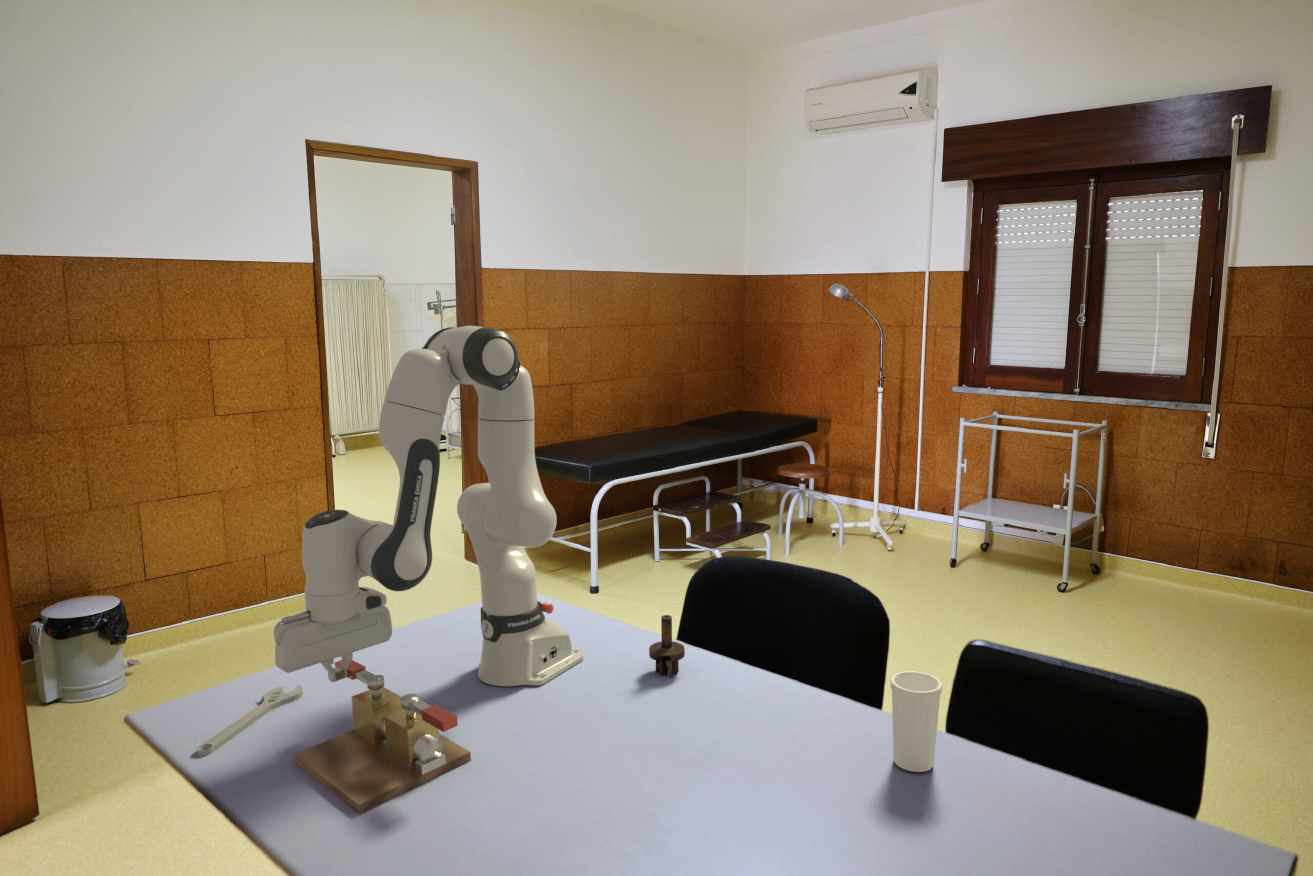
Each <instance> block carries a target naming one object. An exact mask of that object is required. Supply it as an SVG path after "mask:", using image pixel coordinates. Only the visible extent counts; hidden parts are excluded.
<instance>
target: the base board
mask: <svg viewBox="0 0 1313 876" xmlns="http://www.w3.org/2000/svg"><path fill="white" fill-rule="evenodd" d="M439 740H440V741H441V742H442V744H443V750H442V753H443V754H444V755H445V758H446V764H444V765H442V766H440V767H438V768H436V769H434V770H431V771H429V772H427V773H425V774H423V775H422V774H420V773H419V772H417V771H416V770H415V769H413V770H411V771H410V770H408V769H407V768H405V767H404V766H402V765H401V764H399V763H398V762H396V761H395V760H393V759H392V758H390V757H389V756H388V755H387V751H385V750H384V749H383V744H382V745H380V746H378V747H374V746H372V745H371V744H369V743H368V742H366V741H365V740H363V739H362V738H360V737H358V736H357V735H355V733H354V729H352V730H349V731H348V732H344V733H342V734H340V735H337V736H335V737H332V738H330V739H328V740H324V741H322V742H320V743H318V744H315V745H313V746H311V747H308V748H306V749H303V750H301V751H299V752H295V753H293V754H292V755H293V756H292V757H293V763H294V764H295V765H297V766H298V767H299V768H301V770H303V771H304V772H306V773H307V774H308V775H309V776H310V777H312V779H315V780H316V781H317V782H319V783H320V784H321V785H322V786H324V787H325V788H326V789H327V790H329V791H330V792H331V793H333V795H335V796H336V797H337V798H339V799H340V800H341V801H343V802H344V803H345V804H346V805H348V807H351V808H352V809H353V810H354V811H355V812H356V813H357V814H363V813H366V812H367V811H369V810H371V809H373V808H376V807H378V806H379V805H382V804H385V802H388V801H390V800H391V799H394V798H395V797H399V796H400V795H402V794H405V793H406V792H408V791H411V790H412V789H414V788H416V787H419V786H421V785H423V784H425V783H426V782H430V781H431V780H433V779H436V778H437V777H439V776H442V775H443V774H445V773H447V772H449V771H451V770H454V769H455V768H457V767H460V766H462V765H465V764H466V763H468V762H470V761H472V758H471V751H470V750H469V749H466V748H464V747H463V746H461V745H459V744H458V743H456V742H454V741H453V740H451V739H449V738H447V737H445V736H444V735H442V734H441V733H439Z"/></svg>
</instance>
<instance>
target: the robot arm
mask: <svg viewBox="0 0 1313 876" xmlns="http://www.w3.org/2000/svg"><path fill="white" fill-rule="evenodd" d="M458 385H464V386H465V385H466V386H473V387H474V389H475V392H476V395H477V399H478V403H477V404H478V407H477V457H478V460H479V462H480V464H481V465H482V467H483V468H484V470H485V472H486V475H487V479H488V481H489V482H482V483H481V482H479V483H474V484H472V485H469V486H467V488H465V489H464V490H463V491H462V493H461V494H460V496H459V498H458V501H457V503H456V511H457V512H456V513H457V515H458V516H457V517H458V518H459V520H460V523H462V525H463V526H464V528H465V530H466V531H467V533H468V536H469V539H470V542H471V545H472V549H473V552H474V555H475V558H476V561H477V566H478V570H479V577H480V590H481V592H480V593H481V604H482V605H481V608H480V630H481V634H482V649H481V656H480V662H479V667H478V671H477V677H478V678H479V680H480V681H481V682H483V683H484V684H485V683H486V684H488V685H492V686H498V687H517V686H542V685H545V684H546V683H548V682H550V681H551V680H552V679H554V678H556V677H557V676H559V675H562V673H564V672H565V671H567V670H568V669H570V668H572V667H574V666H575V665H577V664H578V663H580V662H582V661H583V660H584V655H583V652H581V650H580V649H578V648H576V647H575V646H573V645H572V640H571V637H570V634H569V632H568V631H567V630H566V629H565V628H564V627H562V626H561V625H559V624H557V623H556V622H554V621H552V620H550V619H548V618H547V617H545V615H544V612H545V613H546V614H549V615H550V614H552V613H553V612H554V609H555V607H554V605H553V604H552V603H549V602H543V603H542V602H541V601H539V600H538V594H537V574H536V573H537V571H536V568H535V565H534V562H533V561H532V559H531V558H530V557H529V554H528V553H527V551H526V548H527V549H529V548H531V549H533V548H538V547H542V546H544V545H546V543H547V542H549V541H550V540H551V539H552V537H553V535H554V533H555V530H556V527H557V521H558V519H557V517H558V516H557V513H556V510H555V508H554V507H553V505H552V503H550V501H549V499H548V498H547V495H546V494H545V492H544V489H543V486H542V482H541V479H540V475H539V471H538V468H537V467H538V466H537V462H536V453H535V451H536V449H535V400H534V391H533V384H532V380H531V374H530V373H529V371H528V369H527V368H526V367H524V366H522V365H521V362H520V359H519V354H518V349H517V345H516V344H515V342H514V340H513V339H512V337H511V336H510V335H508V334H507V333H506V332H504V331H503V330H500V329H498V328H495V327H490V326H486V327H485V326H477V325H464V326H463V325H462V326H459V327H454V326H453V327H451V326H449V327H446V328H443V329H439V330H437V331H435V332H434V333H433V334H432V335H431V336H430V337H429V338H428V339H427V340H426V342H425V344H424V345H423V346H422V348H413V349H410V350H408V351H406V352H405V353H403V354H402V355H401V356H400V359H399V361H398V363H397V364H396V366H395V369H394V370H393V373H392V375H391V377H390V381H389V384H388V387H387V388H386V389H387V390H386V392H385V395H384V398H383V399H384V400H383V403H382V407H381V412H380V415H379V421H378V437H379V439H380V442H381V443H382V446H383V447H384V449H385V450H386V451H387V453H388V454H389V455H390V456H391V458H392V459H393V461H394V463H395V465H396V467H397V470H398V474H399V489H398V494H397V500H396V505H395V511H394V518H393V519H394V520H393V523H392V524H389V523H387V522H384V521H381V520H380V521H379V520H372V519H366V518H363V517H360V516H358V515H355V514H353V513H350V512H349V511H348V510H345V509H334V510H326V511H322V512H320V513H318V514H315V515H313V516H312V517H310V518H309V519H308V520H307V521H306V523H305V525H304V526H303V530H302V538H301V539H302V540H301V541H302V542H301V555H302V556H301V557H302V569H303V571H304V574H305V584H304V600H305V601H304V603H305V611H302V612H299V613H295V614H294V615H287V616H285V617H283V618H281V620H280V621H278V622H277V623H276V625H275V626H274V628H273V635H274V636H273V638H274V641H275V646H274V648H275V649H274V663H275V666H276V667H277V668H278V669H280V670H281V671H283V672H285V673H287V674H288V673H292V672H296V671H299V670H302V669H305V668H309V667H311V666H314V665H317V664H321V666H322V667H323V668H324V669H325V670H326V671H327V678H328V681H329V682H331V683H335V682H338V681H341V680H344V679H347V678H348V674H347V668H348V667H349V665H350V663H351V661H352V660H353V657H354V656H353V654H354V652H359V651H362V650H364V649H367V648H371V647H374V646H377V645H380V644H383V643H387V642H388V641H389V640H390V639H391V637H392V635H393V625H392V624H393V623H392V618H391V617H392V616H391V611H390V610H389V608H388V607H387V606H386V605H387V601H388V600H387V595H386V594H385V593H383V592H382V591H381V592H380V591H378V590H376V589H374V588H370V587H365V586H360V584H359V582H360V580H361V578H364V577H365V578H366V577H370V578H371V579H373V580H376V582H378V583H379V584H380V585H382V586H383V587H385V588H386V589H387V590H390V591H392V592H404V591H408V590H411V589H413V588H416V586H418V585H419V584H420V583H421V582H423V581H424V579H425V578H426V577H427V575H428V573H429V571H430V569H431V567H432V563H433V549H432V548H433V547H432V542H431V541H432V540H431V532H432V531H431V529H432V523H433V516H434V509H435V502H436V497H437V496H436V495H437V491H438V490H437V489H438V483H439V476H440V465H441V453H440V447H441V446H440V445H441V444H440V443H441V436H442V431H443V426H444V425H443V424H444V421H445V416H446V414H447V413H446V412H447V409H448V403H449V399H450V397H451V394H453V391H454V390H455V389H456V387H457V386H458ZM336 658H341V659H340V660H341V662H340V665H339V667H337V668H335V667H333V666H332V665H335V662H334V661H335V660H334V659H336Z"/></svg>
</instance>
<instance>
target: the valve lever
mask: <svg viewBox="0 0 1313 876" xmlns="http://www.w3.org/2000/svg"><path fill="white" fill-rule="evenodd" d="M341 660H342V659H340V660H338V661H336V662H334V668H337V667H339V665H340V662H341ZM347 674H348V677H347V678H348V679H349V680H351V681H353V680H358V681H360V682H362V684H365V685H366V688H367V689H368V690H370V689H371V690H375V689H380V688H382V687H384V686H385V676H384V675H382V674H373V672H370V671H368V670H367V669H366V666H365V665H363V664H361V663H359V662H357V661H356V660H353V659H352V661H351V663H350V665H349V667H348V668H347Z"/></svg>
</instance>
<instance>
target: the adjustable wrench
mask: <svg viewBox="0 0 1313 876" xmlns="http://www.w3.org/2000/svg"><path fill="white" fill-rule="evenodd" d="M302 695H304V691H303V686H301V685H300V684H298V685H296V686H295V689H294V690H293V691H288V692H284V687H283V686H278V687H276V688H273V689H271V690H270V691H268V692H266V693H265V694H262V695H261V699H260V702H261V704H259V705H257V706H256V707H255V708H254V709H251V710H249V712H247V713H246V714H244V715H243V716H242V717H239V719H237V720H235V721H234V722H232V723H231V724H229V725H228V726H226V727H225V728H224V729H222V730H221V731H219V732H218V733H216V734H215V735H213V736H212V737H210V738H209V739H207V740H206V741H204V742H203V743H202V744H200V745H198V746H197V747H196V755H197V756H198V755H199V756H198V757H206V756H205V755H207V756H209V754H210V755H211V753H212V754H213V753H215V752H216V751H217V750H218V748H219V749H220V748H221V747H223V746H224V745H225V743H226V744H227V743H228V742H230V741H231V740H233V739H234V738H235V737H237V736H238V735H239V733H240V732H241V733H242V732H244V731H245V730H247V729H248V728H249V727H251V726H252V725H254V724H255V723H256V722H258V721H259V720H260V718H261V719H262V718H263V717H265V716H266V715H267V713H268V712H269V711H271V710H272V711H274V710H276V709H278V707H279V708H280V706H281V707H282V705H283V706H286V705H288V704H291V703H293V701H294V702H296V701H298V700H300V699H302V697H303V696H302ZM299 698H300V699H299ZM295 700H296V701H295ZM290 702H291V703H290ZM287 703H288V704H287ZM285 704H286V705H285ZM275 708H276V709H275ZM273 709H274V710H273ZM272 711H271V712H272ZM269 713H270V712H269ZM269 713H268V714H269ZM265 714H266V715H265ZM264 715H265V716H264ZM262 716H263V717H262ZM258 719H259V720H258ZM257 720H258V721H257ZM255 721H256V722H255ZM254 722H255V723H254ZM253 723H254V724H253ZM250 725H251V726H250ZM248 726H249V727H248ZM247 727H248V728H247ZM246 728H247V729H246ZM244 729H245V730H244ZM243 730H244V731H243ZM241 733H240V734H241ZM236 735H237V736H236ZM232 738H233V739H232ZM222 745H223V746H222Z"/></svg>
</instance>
